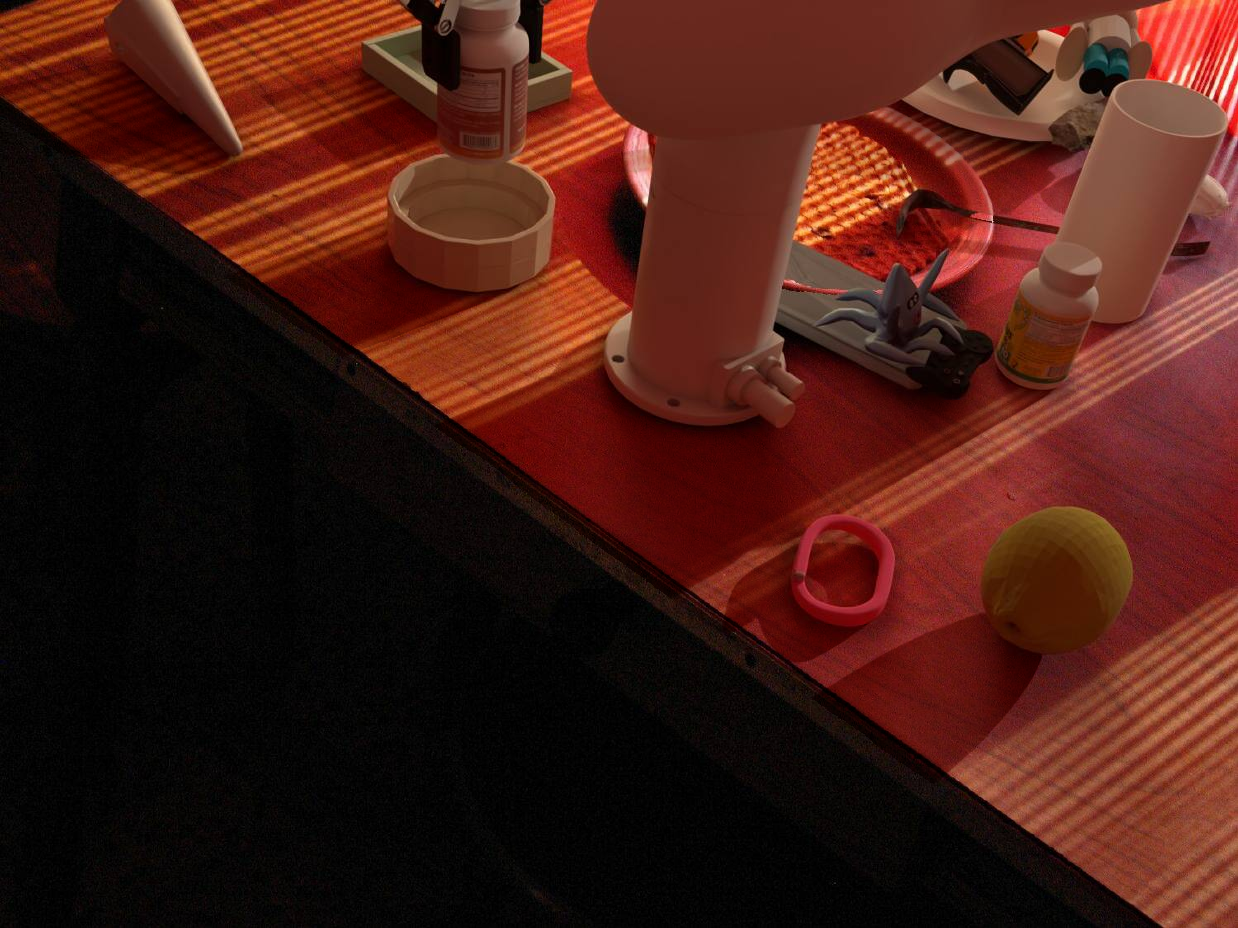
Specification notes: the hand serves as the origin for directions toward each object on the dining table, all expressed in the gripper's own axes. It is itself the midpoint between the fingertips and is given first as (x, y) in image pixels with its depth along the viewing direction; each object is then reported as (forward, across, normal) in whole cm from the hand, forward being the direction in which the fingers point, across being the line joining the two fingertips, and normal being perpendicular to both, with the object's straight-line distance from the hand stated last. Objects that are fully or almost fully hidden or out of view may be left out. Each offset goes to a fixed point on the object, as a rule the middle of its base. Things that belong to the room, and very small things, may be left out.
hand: (482, 66), depth 93 cm
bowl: (+15, 0, +1) cm, 15 cm away
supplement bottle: (+16, +24, -33) cm, 44 cm away
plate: (+16, +57, -5) cm, 60 cm away
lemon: (+16, +4, -48) cm, 51 cm away
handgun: (+9, +60, -11) cm, 61 cm away
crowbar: (+15, +37, -27) cm, 48 cm away
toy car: (+16, +55, -25) cm, 63 cm away
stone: (+15, +55, -19) cm, 60 cm away
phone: (+14, +17, -22) cm, 31 cm away
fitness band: (+16, -3, -38) cm, 42 cm away
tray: (+15, +15, +21) cm, 29 cm away
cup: (+16, +37, -31) cm, 50 cm away
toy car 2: (+10, +57, -1) cm, 58 cm away
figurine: (+15, +15, -28) cm, 35 cm away
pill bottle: (+6, 0, 0) cm, 6 cm away
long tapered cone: (+15, -6, +30) cm, 34 cm away
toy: (+11, +59, -15) cm, 62 cm away
